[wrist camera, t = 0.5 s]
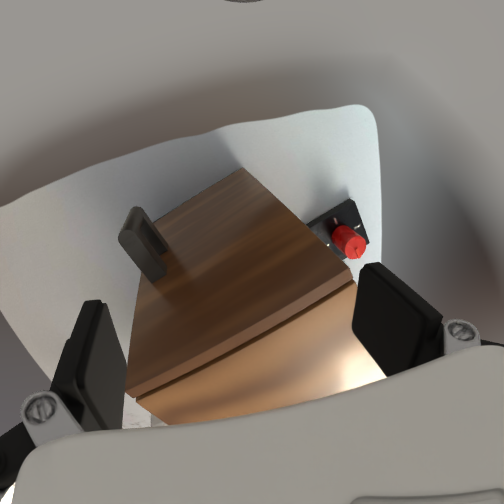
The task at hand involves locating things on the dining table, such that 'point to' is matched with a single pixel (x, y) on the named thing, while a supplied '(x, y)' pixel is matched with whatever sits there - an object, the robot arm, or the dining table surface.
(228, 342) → the cupboard door
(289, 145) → the dining table surface
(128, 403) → the dining table surface
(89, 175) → the dining table surface
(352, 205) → the valve panel
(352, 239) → the valve knob
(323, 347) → the cupboard
